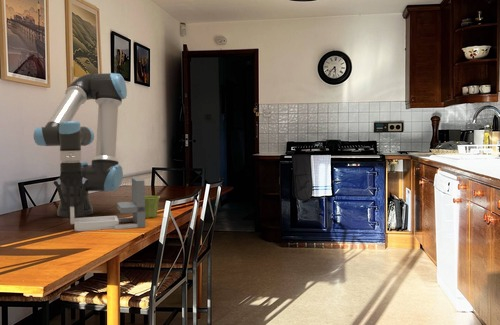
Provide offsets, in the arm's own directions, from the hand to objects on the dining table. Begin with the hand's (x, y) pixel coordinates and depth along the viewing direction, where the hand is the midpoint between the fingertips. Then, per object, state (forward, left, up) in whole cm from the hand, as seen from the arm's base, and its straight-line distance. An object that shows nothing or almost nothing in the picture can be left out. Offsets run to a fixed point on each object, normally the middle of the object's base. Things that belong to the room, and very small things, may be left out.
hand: (72, 223), depth 190 cm
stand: (0, +21, -2) cm, 21 cm away
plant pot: (-15, +31, -2) cm, 35 cm away
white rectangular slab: (0, +9, -2) cm, 9 cm away
